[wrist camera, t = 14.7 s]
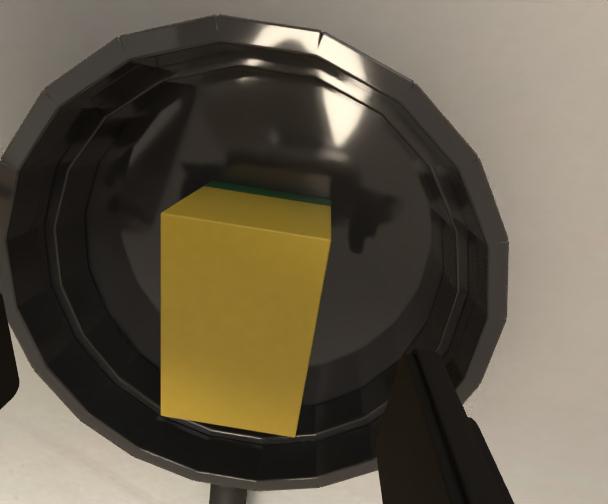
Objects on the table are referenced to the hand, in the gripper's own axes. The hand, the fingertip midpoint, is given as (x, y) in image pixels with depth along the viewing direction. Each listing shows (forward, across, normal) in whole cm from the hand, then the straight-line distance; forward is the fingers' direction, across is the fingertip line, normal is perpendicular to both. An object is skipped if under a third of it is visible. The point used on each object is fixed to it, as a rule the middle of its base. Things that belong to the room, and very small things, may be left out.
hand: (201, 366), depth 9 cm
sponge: (+7, 0, +1) cm, 7 cm away
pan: (+7, 0, 0) cm, 7 cm away
